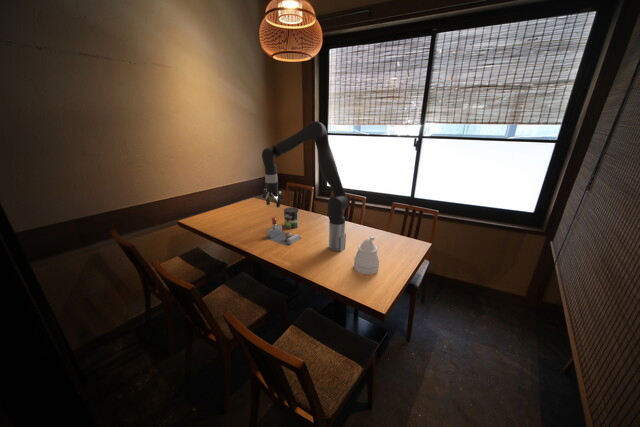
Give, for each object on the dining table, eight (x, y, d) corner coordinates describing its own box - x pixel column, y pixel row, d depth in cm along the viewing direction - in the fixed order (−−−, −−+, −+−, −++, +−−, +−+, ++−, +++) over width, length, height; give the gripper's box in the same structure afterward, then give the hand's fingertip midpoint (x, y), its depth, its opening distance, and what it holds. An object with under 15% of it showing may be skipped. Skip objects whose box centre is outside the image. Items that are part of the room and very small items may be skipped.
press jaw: (282, 232, 169) (281, 216, 165) (270, 238, 160) (269, 221, 156) (279, 231, 171) (278, 215, 166) (267, 237, 162) (266, 220, 158)
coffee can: (293, 232, 174) (293, 213, 169) (281, 229, 178) (280, 210, 173) (301, 226, 182) (301, 208, 178) (290, 224, 187) (289, 206, 182)
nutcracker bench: (302, 239, 163) (302, 233, 161) (288, 248, 152) (288, 241, 150) (278, 232, 173) (278, 226, 172) (263, 239, 162) (263, 233, 161)
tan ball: (293, 237, 159) (293, 231, 158) (289, 239, 156) (288, 234, 155) (288, 236, 162) (288, 230, 160) (284, 238, 158) (284, 232, 157)
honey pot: (375, 260, 138) (377, 231, 132) (381, 274, 126) (384, 242, 120) (352, 261, 138) (353, 231, 132) (356, 274, 126) (358, 243, 120)
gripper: (284, 181, 152) (285, 206, 158) (267, 178, 159) (269, 202, 165) (275, 183, 146) (277, 209, 152) (258, 180, 153) (260, 205, 159)
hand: (273, 206), depth 158 cm, fingers open, 8 cm apart
